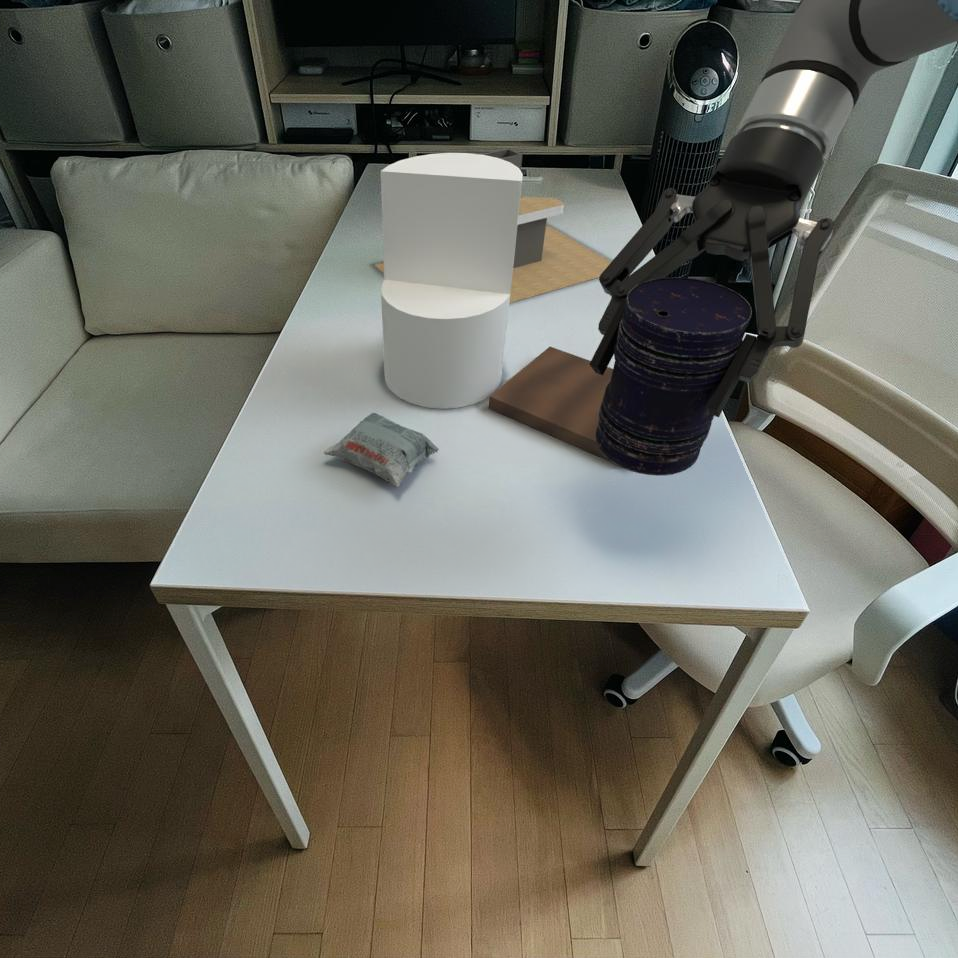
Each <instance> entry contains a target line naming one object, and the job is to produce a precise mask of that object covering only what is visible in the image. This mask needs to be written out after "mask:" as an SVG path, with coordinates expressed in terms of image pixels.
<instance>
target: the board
mask: <svg viewBox="0 0 958 958" xmlns="http://www.w3.org/2000/svg"><path fill="white" fill-rule="evenodd" d="M590 362H591V360H589V359H586V358H585V357H584V358H583V357H581V356H578V355H576V354H572V353H570V352H567V351H564V350H561V349H559V348H556V347H553V346H548V347H547V348H546V349H545V350H544V351H542V352H541V353H540V354H539V355H538V356H537V357H535V358H534V359H533V360H531V361H530V362H529V363H528V364H527V365H526V366H524V367H523V368H522V369H520V370H519V371H518V372H517V373H516V374H514V375H513V376H512V377H511V378H510V379H508V380H507V381H506V382H505V383H503V385H501V386H500V387H498V388H497V390H496V391H495V392H494V393H493V394H491V395H490V396H489V397H488V407H487V408H488V409H490V410H492V411H494V412H496V413H498V414H501V415H503V416H505V417H509V418H510V419H512V420H515V421H517V422H519V423H522V424H524V425H526V426H528V427H531V428H533V429H536V430H538V431H540V432H542V433H545V434H547V435H549V436H552V437H554V438H556V439H559V440H561V441H563V442H566V443H568V444H570V445H572V446H575V447H577V448H579V449H581V450H584V451H586V452H588V453H591V454H593V455H595V456H597V457H599V458H602V459H605V460H607V461H609V462H611V463H613V462H612V461H610V460H609V459H608V458H606V457H605V456H604V455H603V454H602V452H601V451H600V450H599V448H598V446H597V444H596V439H595V435H596V430H597V427H598V422H599V412H600V407H601V403H602V401H603V397H604V393H605V390H606V387H607V385H608V384H609V382H610V381H611V376H612V372H613V368H611V367H609V366H608V367H607V369H606V370H605V372H604V374H603V375H600V374H597V373H595V371H594V370H593V369H592V367H591V366H590V365H589V364H590Z"/></svg>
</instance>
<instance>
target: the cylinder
mask: <svg viewBox="0 0 958 958" xmlns="http://www.w3.org/2000/svg"><path fill="white" fill-rule="evenodd" d="M480 154H481V153H479V154H478V153H469V152H442V153H439V152H438V153H429V154H422V155H417V156H412V157H408V158H404V159H400V160H397V161H395V162H393V163H391V164H389V165H387V166H386V167H384V168H383V169H381V170H380V192H381V193H380V194H381V195H380V196H381V197H380V198H381V199H380V200H381V222H382V223H381V224H382V252H383V253H382V254H383V255H382V256H383V262H384V273H383V282H382V284H381V285H380V296H381V297H380V299H381V322H382V325H381V326H382V347H383V348H382V349H383V373H384V374H383V375H384V382H385V384H386V386H387V387H388V389H389V391H391V392H392V393H393V394H394V395H395V396H396V397H398V398H399V399H401V400H403V401H405V402H407V403H409V404H411V405H415V406H420V407H422V408H423V407H424V408H428V409H439V410H440V409H441V410H445V409H446V410H447V409H460V408H464V407H467V406H472V405H475V404H477V403H479V402H482V401H484V400H486V399H489V396H491V395H492V394H493V393H494V392H495V391H497V390H498V389H499V386H500V385H501V383H502V377H503V369H504V368H503V367H504V357H505V347H506V341H507V340H506V338H507V330H508V329H507V328H508V321H509V311H510V303H509V302H510V292H511V282H512V273H513V263H514V254H515V244H516V235H517V225H518V216H519V206H520V197H522V196H521V195H522V187H523V176H524V174H523V172H522V170H521V171H520V169H519V168H518V167H517V166H515V165H513V164H512V163H510V162H508V161H505V160H502V159H499V158H496V157H491V156H486V155H480Z"/></svg>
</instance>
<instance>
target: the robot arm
mask: <svg viewBox="0 0 958 958" xmlns="http://www.w3.org/2000/svg"><path fill="white" fill-rule="evenodd" d="M956 42H958V0H799V2H798V4H797V6H796V7H795V10H794V12H793V15H792V17H791V20H790V22H789V24H788V26H787V28H786V30H785V32H784V34H783V36H782V38H781V40H780V42H779V44H778V46H777V48H776V50H775V52H774V54H773V56H772V59H771V60H770V62H769V65H768V67H767V69H766V70H765V72H764V75H763V77H762V78H761V81H760V82H759V83H760V84H759V85H758V86H757V89H756V90H755V92H754V94H753V96H752V98H751V100H750V102H749V104H748V105H747V108H746V110H745V111H744V113H743V115H742V117H741V119H740V121H739V122H738V125H737V127H736V128H735V131H734V136H733V137H732V138H731V139H730V140H729V142H728V145H727V146H726V148H725V151H724V152H723V154H722V156H721V158H720V160H719V161H718V163H717V166H716V168H715V169H714V171H713V173H712V175H711V178H710V180H709V182H708V184H707V185H706V187H705V188H704V189H703V190H702V191H701V192H699V193H697V194H696V196H692V195H684V194H679V193H678V192H677V190H676V188H674V187H668V188H666V189H664V190H663V192H662V193H661V196H660V198H659V200H658V203H657V205H656V207H655V210H654V211H653V212H652V214H651V215H650V216H649V217H648V218H647V220H646V221H644V223H643V224H642V225H641V227H640V228H639V229H638V230H637V232H636V233H635V234H634V235H633V236H632V237H631V238H630V239H629V241H628V242H627V243H626V244H625V245H624V246H623V248H622V249H621V250H620V251H619V252H618V254H617V255H616V256H615V257H614V258H613V259H612V261H611V263H610V264H609V265H608V267H607V268H606V269H605V270H604V271H603V272H602V274H601V275H600V277H598V282H599V283H600V285H601V287H602V289H603V292H604V293H605V294H606V295H609V296H610V301H609V302H608V304H607V306H606V308H605V310H604V313H603V314H602V317H601V318H600V319H599V322H598V328H597V330H598V332H599V333H600V334H601V336H602V335H603V336H602V338H601V341H600V342H599V343H598V344H599V345H598V346H597V348H596V350H595V352H594V354H593V356H592V358H591V360H590V361H591V362H590V364H589V365H590V366H591V367H592V369H593V370H594V371H595V373H597V374H600V375H603V374H604V372H605V370H606V369H607V367H609V365H610V363H611V360H612V358H614V352H615V350H614V346H615V343H616V341H617V334H618V329H619V325H620V322H621V320H622V317H623V313H624V310H625V305H626V300H627V295H628V293H629V291H630V290H631V289H632V288H633V287H635V286H636V285H638V284H640V283H643V282H645V281H649V280H653V279H658V278H667V277H668V276H670V274H672V273H673V272H674V271H676V270H677V269H679V268H680V267H681V266H682V265H684V264H686V263H687V262H688V261H689V260H694V259H695V258H697V257H698V256H699V255H701V254H702V253H704V252H705V251H706V253H707V254H710V255H715V256H716V255H717V256H718V255H719V256H720V255H721V256H723V255H724V256H727V257H729V258H731V259H733V260H736V261H741V262H744V261H745V260H747V259H748V260H749V259H750V267H751V268H750V269H751V276H752V287H753V296H754V306H755V316H756V326H757V327H756V328H757V336H756V335H752V334H748V333H746V334H745V335H744V337H743V339H742V340H743V341H742V343H741V345H740V347H739V349H738V351H737V353H736V355H735V356H734V358H733V360H732V362H731V364H730V366H729V368H728V370H727V372H726V373H725V375H724V377H723V379H722V381H721V383H720V385H719V387H718V388H717V390H716V392H715V394H714V396H713V398H712V400H711V402H710V403H709V405H708V409H709V413H710V414H711V415H714V417H717V418H720V416H721V414H722V413H723V410H724V408H725V407H726V405H727V404H728V401H729V399H730V397H731V395H732V394H733V392H734V390H735V388H736V386H737V384H738V383H739V381H743V382H746V383H749V384H751V383H752V382H753V381H754V380H755V379H756V378H757V376H758V375H759V373H760V370H761V369H762V367H763V365H764V364H765V362H766V360H767V358H768V356H769V355H770V352H772V350H773V349H775V348H778V347H789V348H790V349H796V348H799V347H801V346H802V344H803V343H804V338H805V334H806V327H807V323H808V317H809V311H810V307H811V301H812V294H813V291H814V285H815V280H816V275H817V271H818V270H817V269H818V265H819V260H820V258H821V256H822V255H823V254H824V252H825V250H826V249H827V247H828V246H829V244H830V242H831V240H832V237H833V231H834V227H835V222H834V220H833V219H832V218H829V217H824V218H820V219H819V220H818V221H816V220H812V219H807V218H805V217H801V213H800V212H801V208H802V206H803V204H804V202H805V201H806V198H807V197H808V194H809V193H810V191H811V189H812V187H813V185H814V183H815V181H816V180H817V178H818V176H819V174H820V172H821V170H822V168H823V166H824V160H825V159H826V158H827V157H828V156H829V155H830V153H831V151H832V149H833V148H834V145H835V144H836V142H837V140H838V138H839V136H840V134H841V132H842V131H843V129H844V126H845V125H846V122H847V121H848V119H849V117H850V115H851V113H852V110H854V108H855V106H856V104H857V103H858V100H859V98H860V96H861V94H862V92H863V90H864V88H865V87H866V85H867V84H868V81H869V80H870V78H871V77H872V76H873V75H874V74H876V73H877V72H879V71H882V70H885V69H888V68H891V67H893V66H896V65H899V64H901V63H904V62H907V61H909V60H911V59H913V58H916V57H918V56H921V55H923V54H926V53H928V52H931V51H934V50H938V49H940V48H943V47H945V46H947V45H951V44H953V43H956ZM688 213H692V215H693V216H692V217H693V219H694V222H693V223H692V224H690V225H689V226H688V227H687V228H685V229H684V230H683V231H682V232H681V233H680V235H679V236H678V237H677V238H676V239H675V240H674V241H672V242H671V243H670V244H669V245H667V246H666V247H665V248H663V249H662V250H661V251H659V252H658V253H657V254H655V255H654V256H653V257H651V258H650V259H649V260H648V261H646V262H645V263H644V264H642V265H641V266H640V267H639V268H638V266H639V265H640V264H641V263H642V262H644V260H645V258H646V257H647V256H648V255H649V254H650V252H652V250H654V248H655V247H656V246H657V245H658V243H659V242H660V241H661V240H662V239H663V238H664V237H665V235H666V234H667V233H668V232H669V230H670V229H671V227H672V225H673V223H678V222H680V220H682V218H683V217H684V216H685V215H687V214H688ZM792 235H795V236H796V237H797V239H796V247H797V249H798V250H800V251H801V253H800V254H801V255H800V259H799V264H798V269H797V274H796V275H797V276H796V281H795V286H794V291H793V297H792V302H791V307H790V312H789V318H788V324H787V325H777V322H776V313H775V312H776V311H775V304H774V293H773V283H772V275H771V274H772V273H771V266H770V252H769V249H770V248H772V247H774V246H775V245H777V244H778V243H780V242H782V241H783V240H785V239H787V238H788V237H790V236H792Z"/></svg>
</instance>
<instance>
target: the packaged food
mask: <svg viewBox="0 0 958 958" xmlns="http://www.w3.org/2000/svg"><path fill="white" fill-rule="evenodd" d="M439 450H440V449H439V447H438V446H436V444H434V442H432V441H431V440H430V439H429V438H428V437H427V436H426V435H424V434H423V433H421V432H418V431H416V430H414V429H411V428H407V427H405V426H403V425H401V424H399V423H396V422H395V421H392V420H390V419H389V418H386V417H385V416H383V415H380V414H378V413H376V412H371V413H370V414H369V415H367V417H365V418H364V419H362V420H361V421H360V422H359V423H357V425H356V426H355V427H354V428H352V429H351V430H350V431H349V432H348V433H347V434H346V435H345V436H344V437H343V438H342V439H341V440H340V441H339V442H337V443H335V444H333V445H331V446H329V447H327V448H326V449H324V451H323V454H324V455H326V456H330V457H332V458H333V457H335V458H339V459H340V460H341V461H343V462H346V463H348V464H350V465H354V466H357V467H360V468H362V469H364V470H366V471H369V473H370V472H371V473H372V474H373V475H376V476H377V477H380V478H381V479H383V480H384V481H387V482H388V483H390V484H391V485H394V486H395V487H397V488H399V487H400V485H401V484H402V481H403V480H404V478H405V476H406V475H407V474H408V473H413V472H414V468H415V467H417V466H418V465H419V463H420V462H421V461H423V460H425V458H429V457H430V456H432V455H434V454H436V453H438V451H439Z"/></svg>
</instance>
